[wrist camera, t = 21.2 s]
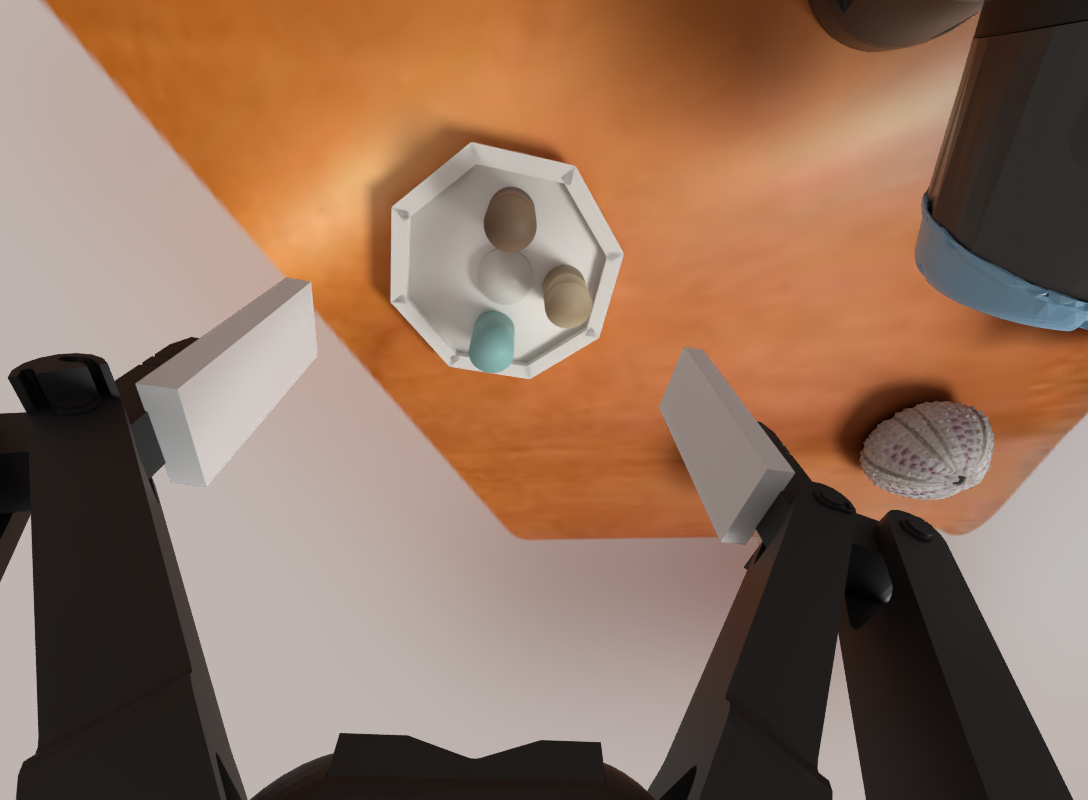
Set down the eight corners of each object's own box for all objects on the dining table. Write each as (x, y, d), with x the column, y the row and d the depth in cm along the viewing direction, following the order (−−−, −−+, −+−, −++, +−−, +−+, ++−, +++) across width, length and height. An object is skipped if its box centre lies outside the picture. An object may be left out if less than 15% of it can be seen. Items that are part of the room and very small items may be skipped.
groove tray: (398, 123, 34) (392, 124, 33) (640, 178, 37) (645, 181, 35) (394, 349, 45) (389, 357, 43) (582, 378, 48) (584, 387, 46)
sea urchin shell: (956, 458, 57) (1014, 505, 50) (847, 486, 59) (888, 534, 52) (976, 376, 50) (1046, 418, 43) (851, 411, 52) (899, 456, 45)
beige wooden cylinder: (547, 261, 40) (550, 279, 35) (589, 269, 40) (597, 288, 36) (538, 302, 42) (540, 324, 37) (579, 310, 42) (585, 331, 38)
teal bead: (476, 307, 42) (471, 329, 38) (517, 314, 42) (517, 337, 38) (471, 344, 44) (466, 369, 40) (511, 351, 44) (509, 376, 40)
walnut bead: (491, 182, 36) (486, 191, 32) (539, 191, 36) (541, 202, 32) (485, 232, 38) (480, 247, 34) (530, 240, 38) (531, 256, 34)
